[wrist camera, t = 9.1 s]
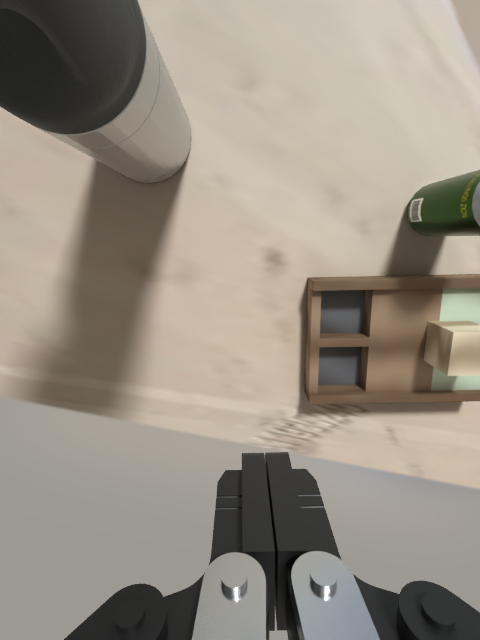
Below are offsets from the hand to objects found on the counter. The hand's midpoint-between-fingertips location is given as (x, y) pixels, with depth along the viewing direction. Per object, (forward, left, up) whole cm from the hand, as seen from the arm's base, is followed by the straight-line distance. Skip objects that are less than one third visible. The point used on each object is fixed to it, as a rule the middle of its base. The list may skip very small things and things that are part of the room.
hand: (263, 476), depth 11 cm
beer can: (-10, +20, -29) cm, 37 cm away
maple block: (+4, +22, -26) cm, 35 cm away
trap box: (+4, +17, -29) cm, 34 cm away
